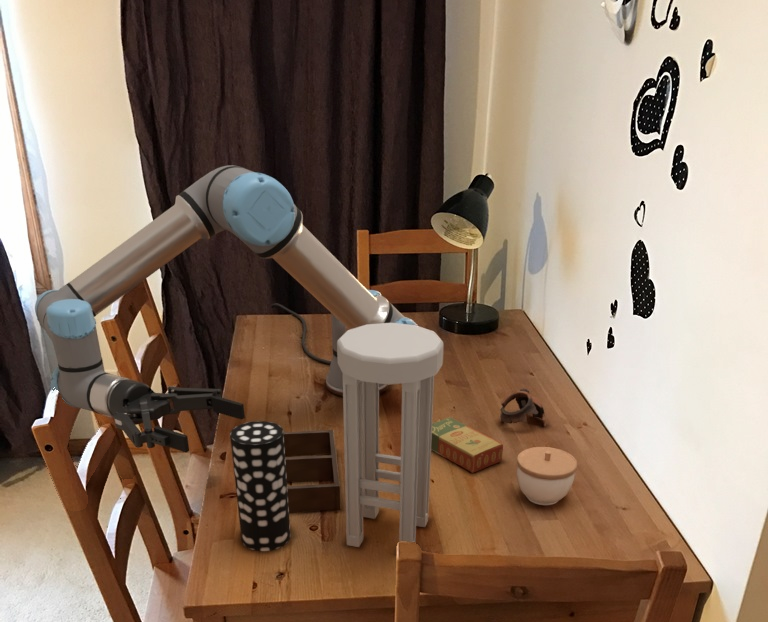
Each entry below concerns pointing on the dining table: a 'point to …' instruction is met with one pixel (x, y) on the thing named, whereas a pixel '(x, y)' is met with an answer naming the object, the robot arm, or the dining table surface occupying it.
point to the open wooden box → (312, 470)
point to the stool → (360, 404)
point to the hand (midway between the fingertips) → (216, 427)
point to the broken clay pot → (522, 408)
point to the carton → (464, 445)
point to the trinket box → (545, 474)
